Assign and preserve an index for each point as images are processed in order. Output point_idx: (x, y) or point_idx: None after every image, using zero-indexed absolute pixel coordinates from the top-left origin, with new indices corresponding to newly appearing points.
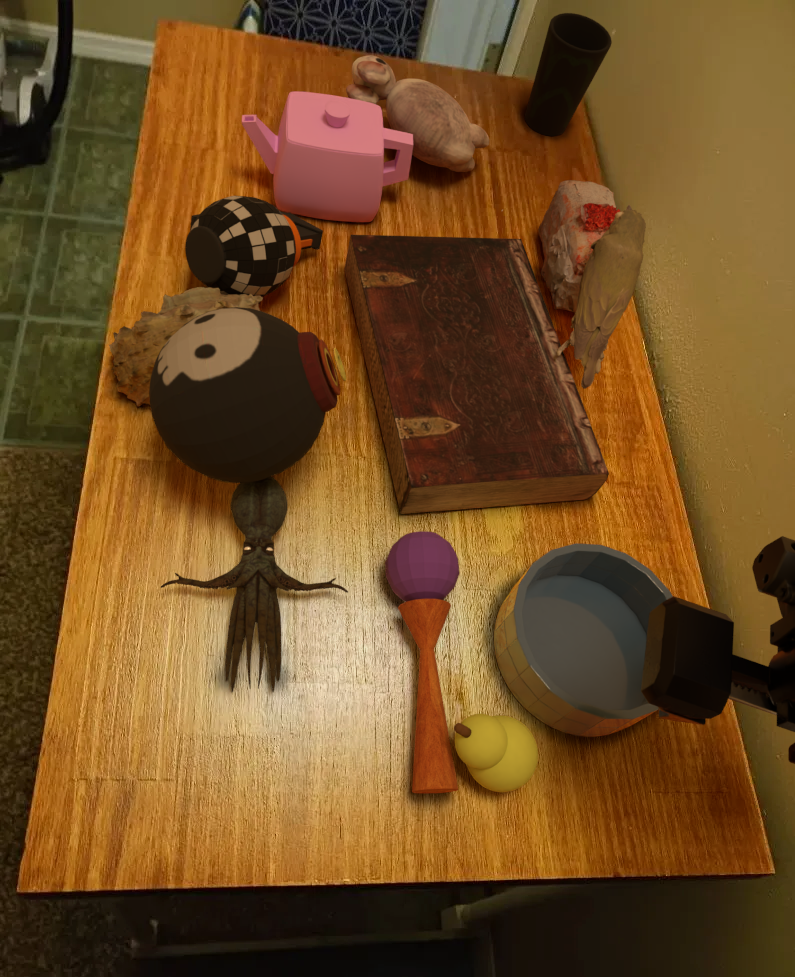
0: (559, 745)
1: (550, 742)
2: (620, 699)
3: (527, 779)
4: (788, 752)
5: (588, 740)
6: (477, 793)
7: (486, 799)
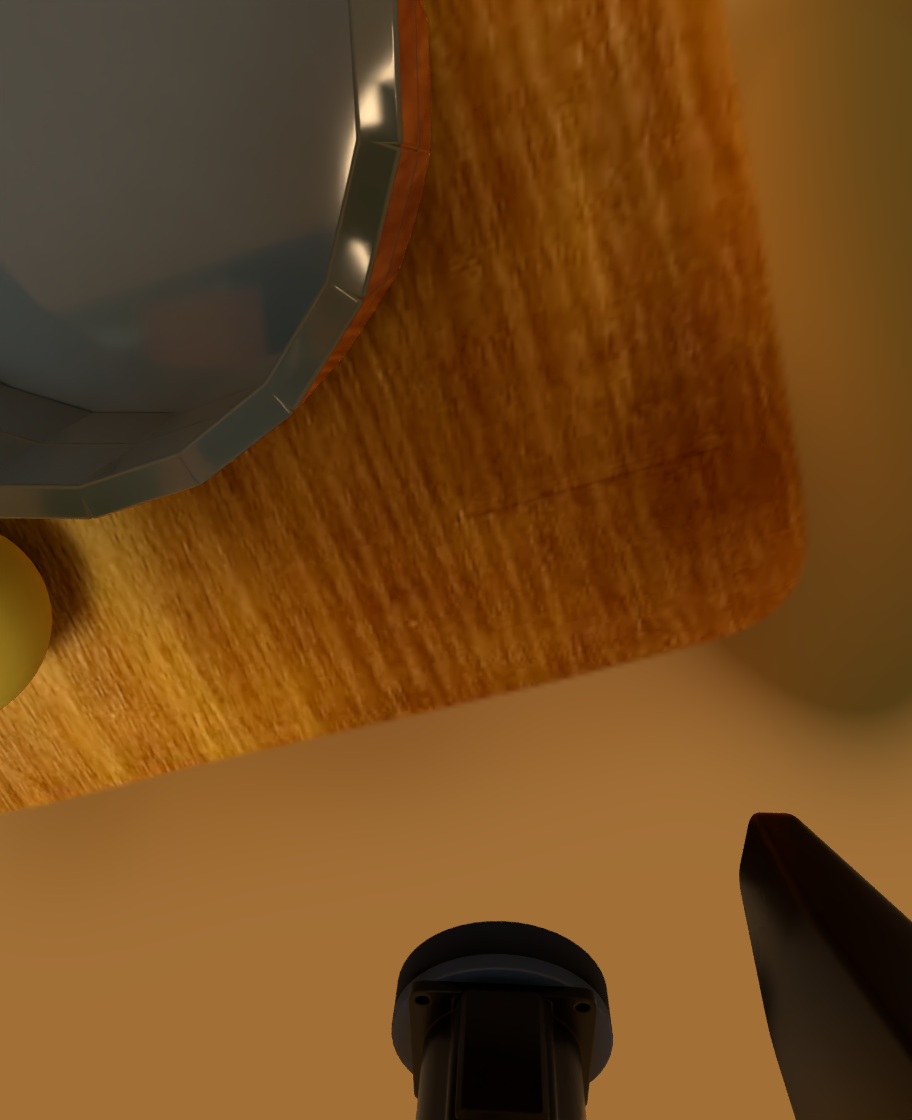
0: None
1: None
2: (292, 263)
3: (1, 698)
4: (746, 837)
5: None
6: None
7: None
